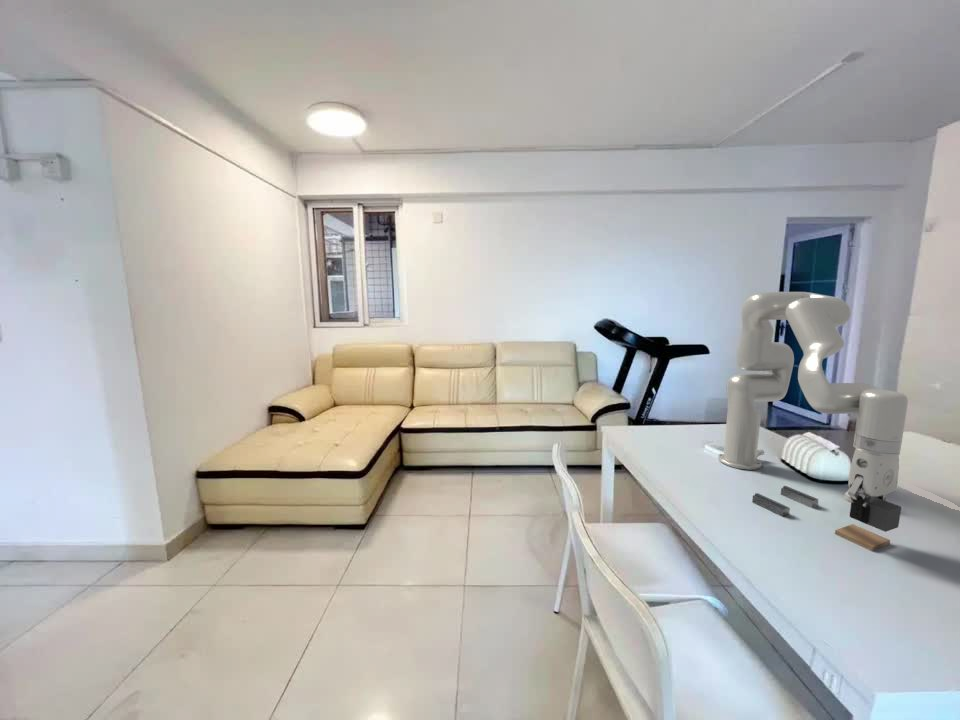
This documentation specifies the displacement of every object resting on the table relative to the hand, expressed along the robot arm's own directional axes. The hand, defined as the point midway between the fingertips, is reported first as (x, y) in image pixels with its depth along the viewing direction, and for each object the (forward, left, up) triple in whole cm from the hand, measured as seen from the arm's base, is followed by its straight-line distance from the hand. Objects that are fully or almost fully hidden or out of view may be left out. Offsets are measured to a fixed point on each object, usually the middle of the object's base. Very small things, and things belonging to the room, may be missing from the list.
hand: (865, 516), depth 91 cm
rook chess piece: (-20, -11, -6) cm, 24 cm away
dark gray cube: (0, +2, -1) cm, 2 cm away
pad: (0, 0, -6) cm, 6 cm away
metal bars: (0, -17, -6) cm, 18 cm away
